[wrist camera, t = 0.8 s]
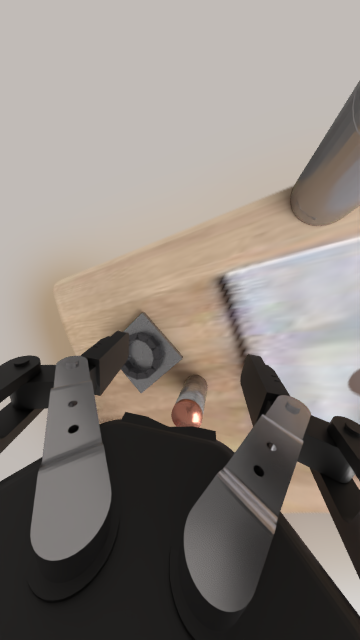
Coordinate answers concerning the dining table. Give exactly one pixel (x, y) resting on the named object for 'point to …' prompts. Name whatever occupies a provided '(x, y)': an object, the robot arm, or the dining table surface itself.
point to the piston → (190, 403)
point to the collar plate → (148, 353)
